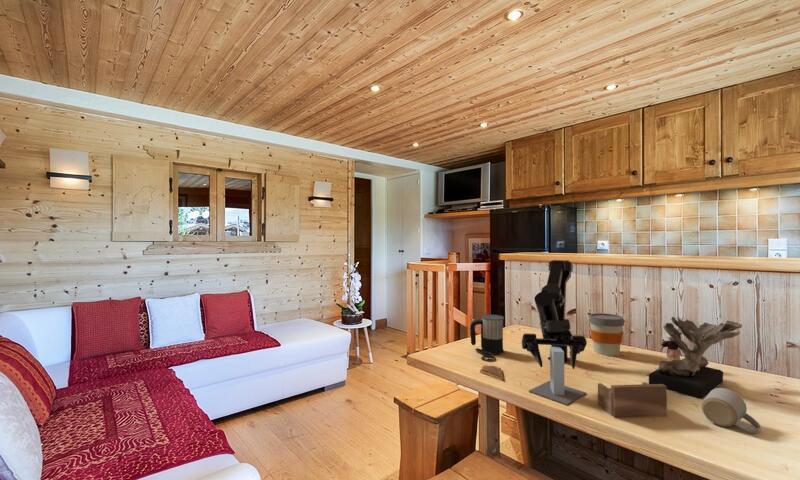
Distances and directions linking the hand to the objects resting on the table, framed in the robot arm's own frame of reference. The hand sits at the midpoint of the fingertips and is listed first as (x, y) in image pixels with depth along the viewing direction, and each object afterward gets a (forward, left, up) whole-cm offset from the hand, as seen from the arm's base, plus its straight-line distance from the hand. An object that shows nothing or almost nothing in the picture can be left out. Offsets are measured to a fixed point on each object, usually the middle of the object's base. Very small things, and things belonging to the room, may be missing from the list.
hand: (557, 367), depth 111 cm
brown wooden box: (-5, +18, -8) cm, 21 cm away
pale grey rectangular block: (0, 0, -8) cm, 8 cm away
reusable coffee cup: (-53, -7, -8) cm, 55 cm away
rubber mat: (0, 0, -8) cm, 8 cm away
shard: (0, -22, -9) cm, 24 cm away
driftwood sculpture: (-40, +26, -8) cm, 49 cm away
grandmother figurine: (-55, +15, -8) cm, 58 cm away
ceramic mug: (-16, +37, -8) cm, 41 cm away
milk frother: (-15, -37, -8) cm, 41 cm away
